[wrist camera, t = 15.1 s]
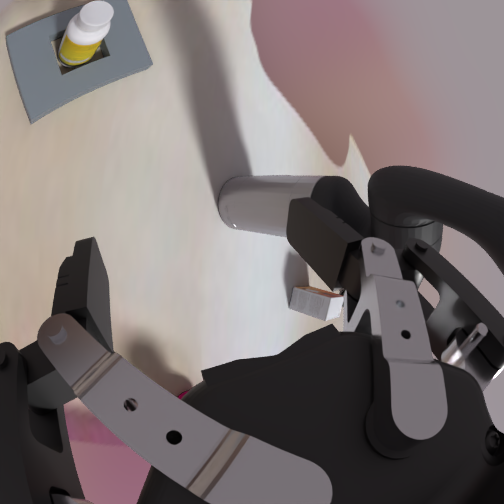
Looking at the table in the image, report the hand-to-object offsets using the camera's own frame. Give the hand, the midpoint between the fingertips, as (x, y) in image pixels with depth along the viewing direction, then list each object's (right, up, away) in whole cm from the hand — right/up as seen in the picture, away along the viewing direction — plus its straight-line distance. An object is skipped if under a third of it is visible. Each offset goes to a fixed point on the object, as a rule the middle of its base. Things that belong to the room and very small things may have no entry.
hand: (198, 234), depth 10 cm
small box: (+14, -12, +57) cm, 60 cm away
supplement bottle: (-21, +25, +11) cm, 34 cm away
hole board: (-21, +25, +11) cm, 34 cm away
